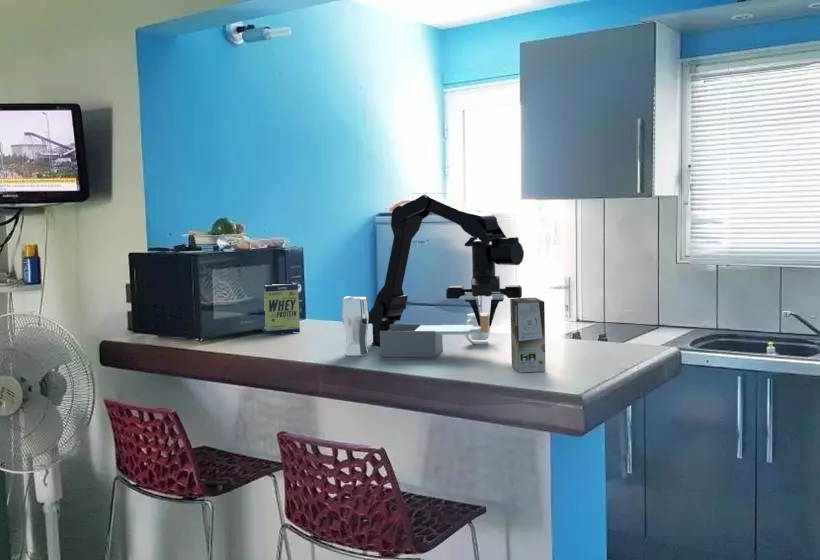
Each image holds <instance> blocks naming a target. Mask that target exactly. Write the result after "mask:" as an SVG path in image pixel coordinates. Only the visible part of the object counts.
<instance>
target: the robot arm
mask: <svg viewBox="0 0 820 560" xmlns="http://www.w3.org/2000/svg"><path fill="white" fill-rule="evenodd" d="M431 213H432V214H435V215H436V216H439V217H441V218H444V219H446V220H448V221H449V222H452V223H455V224H456V225H458V226H460V227H461V229H462V231H463V232H465V233H467V234H468V235H469V236H471V237H469V238H468V240H467V241H466V242H465V243H464V247H471V258H472V259H471V262H472V263H471V265H472V266H471V267H472V269H471V270H472V278H471V280H470V281H471V283H470V284H471V285H470V286H471V288H464V287H465V286H464V285H450V286H449V287H447V289H446V290H445V294H446V296H445V298H446V300H448V299H449V300H454V299H456V300H457V299H460V298H461V297H462V296H464V302H465V303H469V305H470V307H471V308H472V310H473V313H474V314H475V317H476V319H477V322H478V325H479V326H480V313H481V311H480V304H479V297H492V298H491V299H490V309H489V313H490V317H489V326H490V327H492V323H493V321H494V317H495V314H496V310H497V307H498V306H499V304H500V302H501V303H502V302H503V301H504V300H505V298H504V296H506V297H507V298H508V299H517V298H523V287H522V286H521V285H520V284H506V285H505V286H504V287H502V288H501V280H500V275H496V265H499V266H500V265H501V266H520V265H521V263H522V262H523V260H524V256H525V250H524V249H523V244H521V243H520V240H519V239H520V238H519V237H517V236H513V237H507V236H506V235H505V233H504V231H503V230H502V228H501V226H500V225H499V224H498V223H499V222H498V219H497V217H496V216H495V215H494V214H491V213H486V212H480V211H474V210H473V211H472V210H468V209H466V208H464V207H461V206H460V205H457V204H455V203H453V202H450V201H448V200H445V199H443V198H440V197H439V196H438V195H436V194H431V193H430V194H422V195H421V196H419V197H417V198H416V199H413V200H412V201H409V202H407V203H404V204H403V205H398V206H396V207H394V208H393V209H392V212H391V217H390V227H391V231H392V233H393V239H392V240H393V241H392V245H391V250H390V255H389V260H388V265H387V270H386V275H385V281H384V284H383V286H382V288H381V289H380V290H379V292H378V293H377V295H376V297H375V300H374V302H373V307H371V309H370V311H369V321H368V324H372V342H371V346H380V331H388V330H389V329H390V324H397V321H398V322H399V321H401V318H402V314H403V313H404V311H405V310H407V302H408V299H409V297H408V295H406V294H405V293H404V291H403V283H404V280H405V275H406V269H407V264H408V260H409V254H410V249H411V244H412V242H413V241H412V240H413V239H414V237H415V236H416V234H417V233H418V231H420V228H421V225H422V222H423V220H424V219H426V218H427V217H429V216H430V215H431Z"/></svg>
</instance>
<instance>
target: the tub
mask: <svg viewBox="0 0 820 560" xmlns="http://www.w3.org/2000/svg"><path fill="white" fill-rule="evenodd" d="M420 325H443V323H396V324H390V329H389V330H388V331H380V345H379V346H380V347H379V349H380V360H383V361H385V360H386V361H396V360H397V361H399V360H400V361H406V360H407V361H411V360H412V361H436V360H437V359H438V358H439V356H440V355H441V354H442V353H443V351H444V348H443V347H444V345H443V335H435V331H415V330H416V329H417V328H418V327H419V326H420Z"/></svg>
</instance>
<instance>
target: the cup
mask: <svg viewBox="0 0 820 560" xmlns="http://www.w3.org/2000/svg"><path fill="white" fill-rule="evenodd" d="M482 313H483V312H480V316H481V314H482ZM488 313H489V317H490V312H488ZM466 317H467V320H466V322H465V324H464V325H474V327H480V326H479V325H478V322H477V319H476V317H475V314H474V312H473V313H472V312H471V313H468V314H466ZM490 331H491V326H489V331H488V333H470V334H469V335H470V337H471V338H470V337H469V335H464V336H465V337H464V338H466V340H467V341H468V342H469V343H470V344H472V345H486V344H488V343H489V341H488V339H489V335H490Z"/></svg>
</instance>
